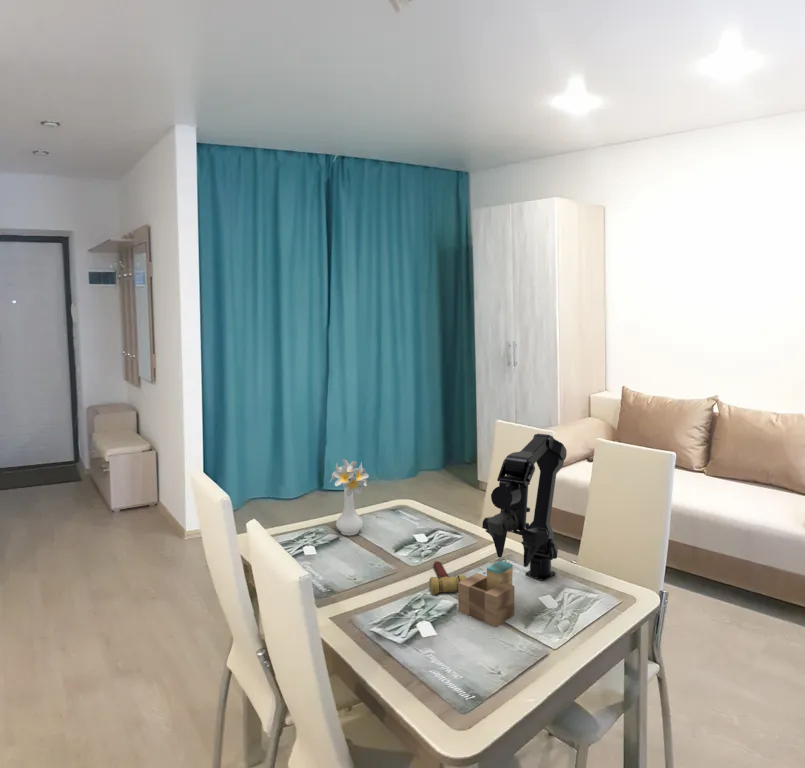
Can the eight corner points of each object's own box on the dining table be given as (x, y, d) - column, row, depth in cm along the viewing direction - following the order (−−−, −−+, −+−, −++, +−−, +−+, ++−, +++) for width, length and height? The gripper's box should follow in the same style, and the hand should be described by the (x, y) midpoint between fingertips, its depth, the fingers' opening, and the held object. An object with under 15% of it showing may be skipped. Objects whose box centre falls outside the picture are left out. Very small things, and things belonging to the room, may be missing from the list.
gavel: (419, 555, 204) (451, 553, 205) (419, 570, 204) (451, 568, 205) (432, 581, 183) (467, 578, 184) (432, 597, 183) (467, 594, 185)
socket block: (476, 600, 180) (476, 572, 179) (514, 615, 172) (514, 586, 171) (458, 611, 174) (458, 582, 173) (496, 627, 166) (496, 596, 165)
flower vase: (343, 545, 220) (341, 472, 217) (324, 528, 237) (322, 459, 233) (379, 538, 226) (378, 466, 222) (358, 521, 242) (356, 454, 239)
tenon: (499, 598, 181) (500, 560, 179) (512, 603, 178) (512, 564, 177) (486, 606, 177) (486, 567, 175) (499, 611, 174) (499, 571, 172)
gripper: (469, 498, 178) (465, 556, 178) (522, 513, 163) (518, 576, 164) (498, 495, 185) (495, 551, 185) (551, 509, 170) (547, 570, 170)
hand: (512, 561), depth 176 cm, fingers open, 9 cm apart
